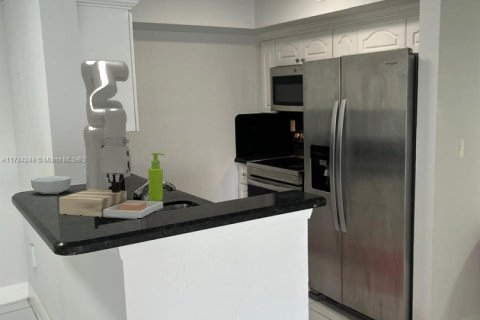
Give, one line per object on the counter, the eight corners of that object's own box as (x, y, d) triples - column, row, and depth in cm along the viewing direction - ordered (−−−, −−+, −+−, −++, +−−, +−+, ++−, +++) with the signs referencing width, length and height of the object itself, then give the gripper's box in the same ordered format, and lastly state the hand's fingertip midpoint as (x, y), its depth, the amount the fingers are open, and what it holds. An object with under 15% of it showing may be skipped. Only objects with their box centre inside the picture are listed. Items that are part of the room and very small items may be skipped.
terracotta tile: (146, 202, 166) (146, 210, 166) (129, 201, 167) (129, 208, 168) (137, 205, 159) (137, 213, 159) (119, 204, 161) (119, 212, 161)
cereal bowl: (36, 191, 210) (35, 176, 209) (73, 190, 213) (73, 175, 213) (27, 197, 193) (26, 180, 193) (67, 196, 197) (67, 180, 196)
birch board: (89, 204, 179) (89, 189, 178) (126, 206, 175) (126, 191, 175) (59, 214, 159) (59, 197, 159) (100, 216, 156) (100, 199, 155)
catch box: (129, 206, 175) (129, 200, 175) (162, 208, 172) (162, 201, 172) (103, 216, 156) (103, 209, 156) (141, 219, 153) (141, 211, 153)
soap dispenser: (162, 201, 186) (161, 153, 185) (146, 200, 188) (146, 153, 186) (167, 199, 192) (167, 152, 190) (151, 198, 193) (151, 152, 192)
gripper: (139, 142, 165) (139, 191, 167) (102, 141, 169) (102, 190, 170) (129, 143, 158) (130, 194, 160) (91, 142, 161) (92, 193, 163)
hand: (116, 192), depth 165 cm, fingers closed
